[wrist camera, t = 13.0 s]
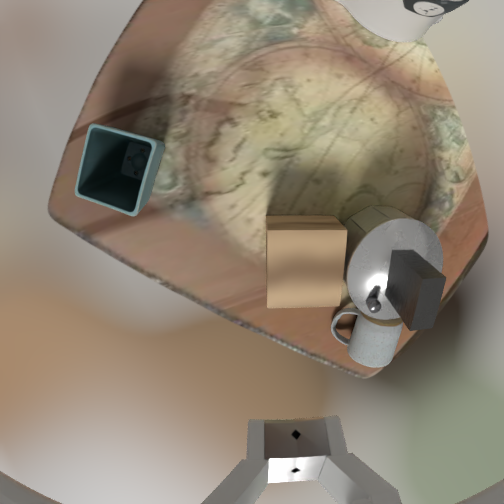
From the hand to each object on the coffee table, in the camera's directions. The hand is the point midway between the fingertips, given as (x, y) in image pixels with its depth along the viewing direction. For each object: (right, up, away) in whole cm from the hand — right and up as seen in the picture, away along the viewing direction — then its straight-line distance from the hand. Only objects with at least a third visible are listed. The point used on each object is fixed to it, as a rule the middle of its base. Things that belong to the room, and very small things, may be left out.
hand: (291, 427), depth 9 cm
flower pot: (-16, +18, +29) cm, 38 cm away
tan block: (+5, +6, +33) cm, 34 cm away
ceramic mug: (+16, -5, +37) cm, 41 cm away
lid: (+17, +4, +26) cm, 31 cm away
